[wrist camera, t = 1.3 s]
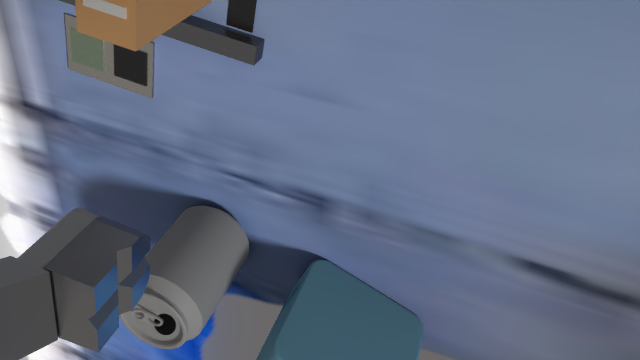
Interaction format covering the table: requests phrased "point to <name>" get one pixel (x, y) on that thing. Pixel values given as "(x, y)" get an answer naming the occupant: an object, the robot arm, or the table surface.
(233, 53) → the switch channel
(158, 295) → the can
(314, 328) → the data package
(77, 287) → the robot arm
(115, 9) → the orange brown box
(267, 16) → the table surface
